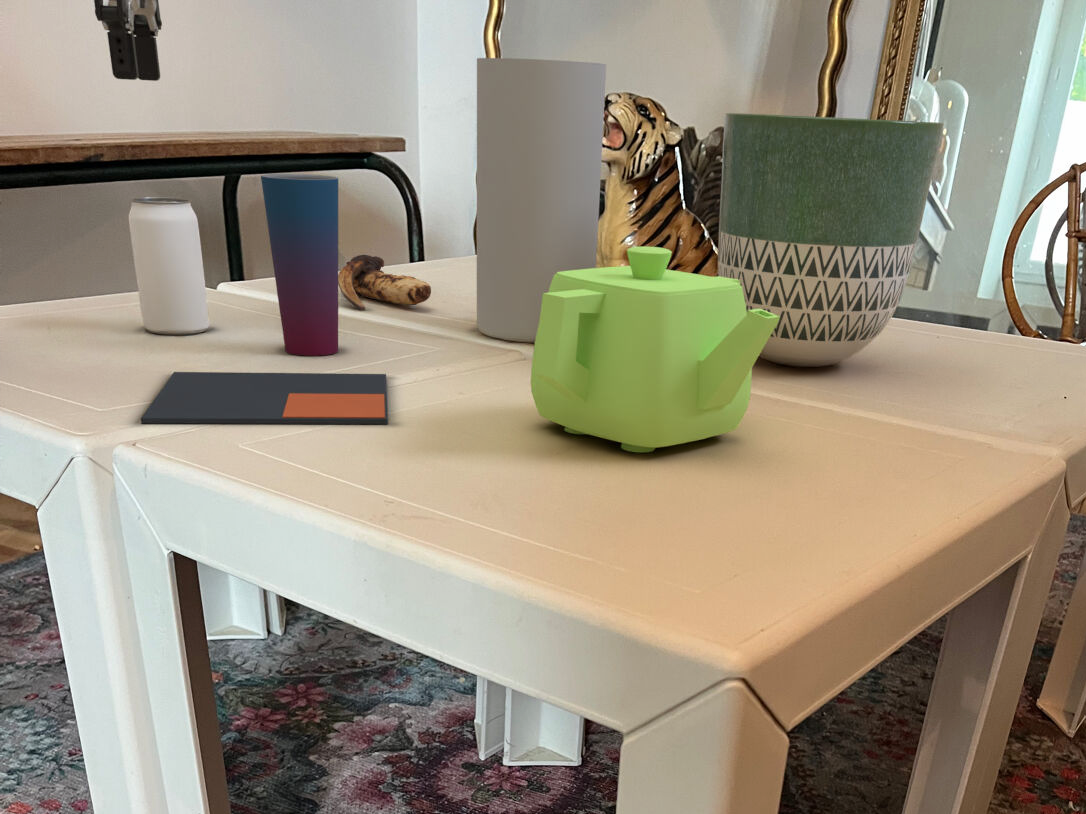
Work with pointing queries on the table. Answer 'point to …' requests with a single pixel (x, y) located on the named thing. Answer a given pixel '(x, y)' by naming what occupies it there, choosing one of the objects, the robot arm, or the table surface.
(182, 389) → the mat
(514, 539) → the table surface
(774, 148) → the planter
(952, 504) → the table surface
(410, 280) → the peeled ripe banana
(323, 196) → the cup
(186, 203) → the can
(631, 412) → the teapot
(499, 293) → the cylinder vase
